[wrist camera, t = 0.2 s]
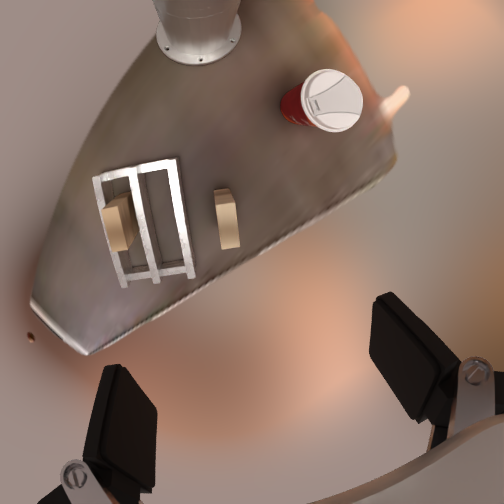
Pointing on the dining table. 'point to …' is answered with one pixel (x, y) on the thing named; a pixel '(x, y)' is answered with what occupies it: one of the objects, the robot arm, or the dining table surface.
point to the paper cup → (324, 101)
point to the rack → (148, 222)
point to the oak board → (120, 221)
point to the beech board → (226, 218)
